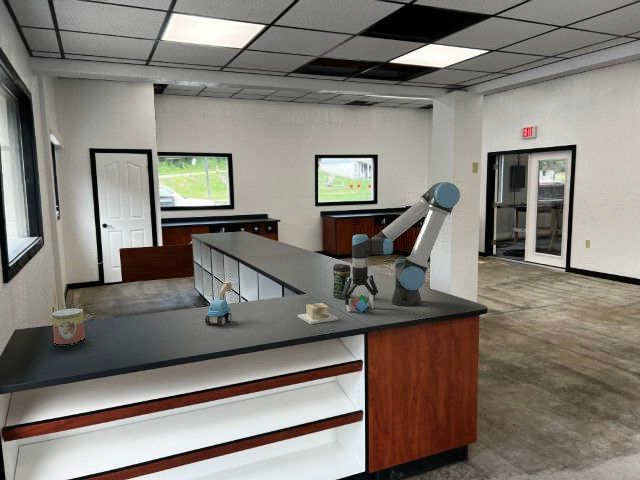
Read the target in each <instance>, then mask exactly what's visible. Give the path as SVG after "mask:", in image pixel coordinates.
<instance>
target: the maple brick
mask: <svg viewBox="0 0 640 480" xmlns="http://www.w3.org/2000/svg"><path fill="white" fill-rule="evenodd" d="M305 309H306V310H305V312H306V313H305V314H306V315H307V316H308V317H310V318H311V319H320V318H328V317H329V313H330V312H329V311H330V309H329V306H328V305H326V304H325V303H323V302H320V303H318V302H317V303H316V302H315V303H310V304H306V305H305Z"/></svg>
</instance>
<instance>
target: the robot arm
mask: <svg viewBox="0 0 640 480" xmlns="http://www.w3.org/2000/svg"><path fill="white" fill-rule="evenodd" d="M460 198H461V192H460V189H459V188H458V186H457V185H455V184H454V183H452V182H449V181H443V182H441V181H440V182H437V183H435V184H433V185H432V186H431V187H430V188H428V190H427V191H425V193H423V194H422V195H421V196H420V198H419V200H418V201H416V202H415V204H413V205H412V206H410V208H408V209H407V210H406V211H404V212H403V213H402V214H401V215H400V216H398V217H397V218H396V219H395V220H393V221H392V222H391V223H390V224H389V225H387V226H386V227H385V228H384V229H382V230H381V231H379V232H378V233H377V234H375V235H374V236H372V237H371V238H369V236H368V235H367V234H355V235H353V236H352V240H351V241H352V243H351V247H352V248H351V250H352V251H351V252H352V253H351V257H352V269H351V273H352V277H350V278H349V277H347V282H346V285H345V287H344V290H343V293H342V295H341V296H342V297H344V298H345V299H344V304H345V305H346V312H349V313H351V312H352V308H351V299H352V298H351V297H352V294H353V293H354V291H355V289H356V288H357V287H361V286H364V287H365V288H366V289H367V290H368V292H369V293H370V294H369V295H368V302H369V303H368V304H369V306H368V307H369V308H370V309H375V308H374V306H375V305H374V302H375V301H376V295H377V294H379V289H378V288H377V285H376V282H375V281H374V275H372V274H369V268H368V266H369V255H385V256H386V255H391V254H392V253H393V252H394V241H395V240H396V239H397V238H399V236H401V235H402V234H403V233H405V232H406V231H407V230H408V229H409V228H411V227H412V226H413V225H415V224H416V223H417V222H418V221H419V220H421V219H422V218H423V217H425V218H424V221H423V224H422V225H421V228H420V231H419V233H418V236H417V238H416V240H415V243H414V244H413V245H414V246H413V247H412V251H411V252H410V255H409V256H407V257H405V258H397V259H396V260H395V262H394V266H395V267H394V268H395V269H394V271H395V274H394V277H395V279H394V281H395V282H394V284H395V285H394V290H393V294H392V297H391V303H392V304H393V305H396V306H400V307H417V306H419V305H421V304H422V297H421V296H422V295H421V293H420V289H421V288H422V287H423V285H424V284H425V281H426V273H427V271H428V268H429V265H428V260H429V258H430V256H431V253H432V251H433V248H434V246H435V244H436V241H437V239H438V237H439V234H440V232H441V230H442V227H443V225H444V222H445V220H446V218H447V217H448V216H450V215H451V214H452V211H453V209H454V207H455V206H456V205H457V204H458V203H459V202H460ZM368 274H369V275H368ZM368 281H369V282H368ZM349 288H350V289H349ZM350 296H351V297H350ZM349 297H350V298H349Z"/></svg>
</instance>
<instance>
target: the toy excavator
mask: <svg viewBox="0 0 640 480" xmlns="http://www.w3.org/2000/svg"><path fill="white" fill-rule="evenodd" d="M232 290H233V286H232V282H230V281H222V287H221V288H220V291H219V299H214V300H213V299H212V300H211V302H210V304H209V310H207V314H206V315H205V317H204V323H205V324H206V325H211V324H217V325H218V326H223V325H225V324H226V322H227V323H228V322H229V323H231V321H232V320H233V317H232V316H233V315H232V313H231V311H232V310H231V307H230V306H228V301H227V300H225V299H226V297H225V293H226V292H232Z"/></svg>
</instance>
